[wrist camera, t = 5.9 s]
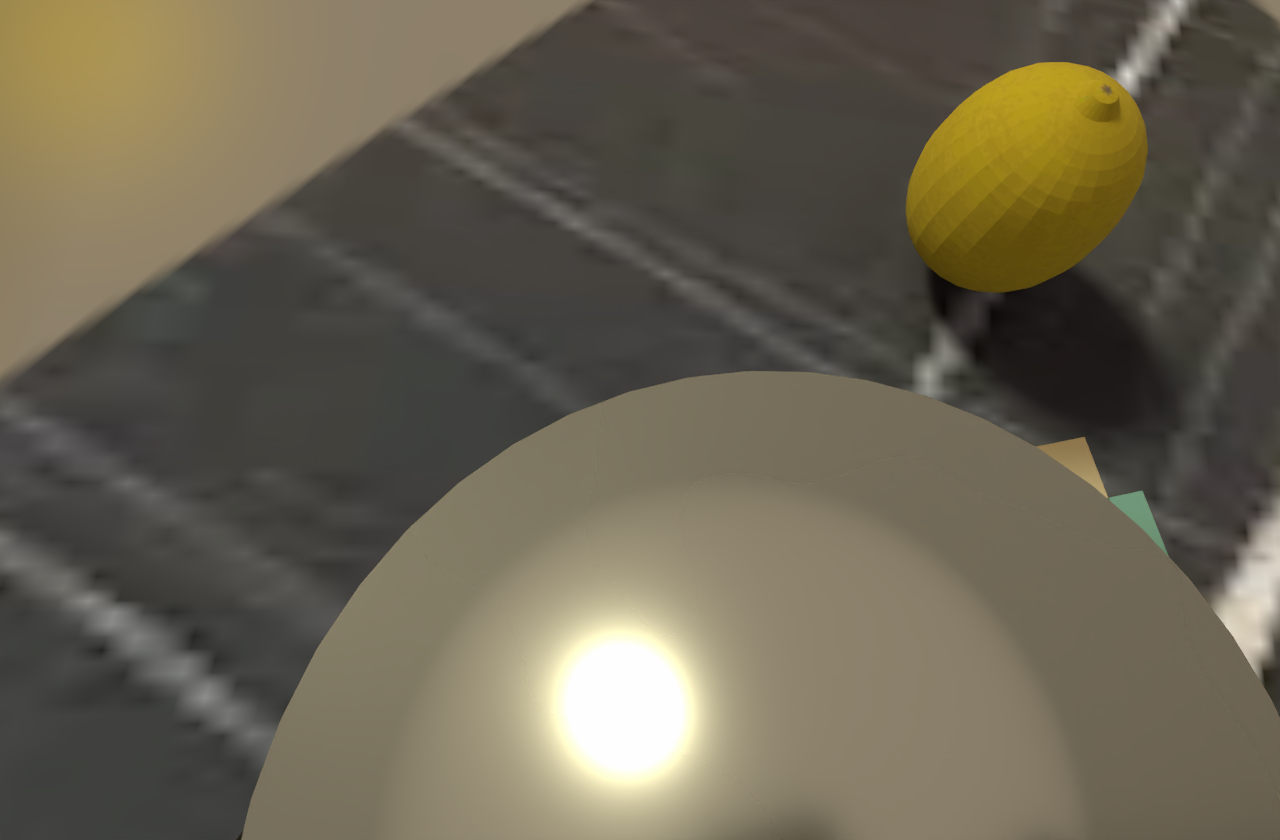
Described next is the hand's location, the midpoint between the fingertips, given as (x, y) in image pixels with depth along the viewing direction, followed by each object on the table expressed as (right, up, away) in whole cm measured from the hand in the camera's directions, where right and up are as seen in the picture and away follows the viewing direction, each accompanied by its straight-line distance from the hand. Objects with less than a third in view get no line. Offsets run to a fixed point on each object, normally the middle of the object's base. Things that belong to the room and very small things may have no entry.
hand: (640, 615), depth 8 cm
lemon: (+10, +8, +17) cm, 22 cm away
